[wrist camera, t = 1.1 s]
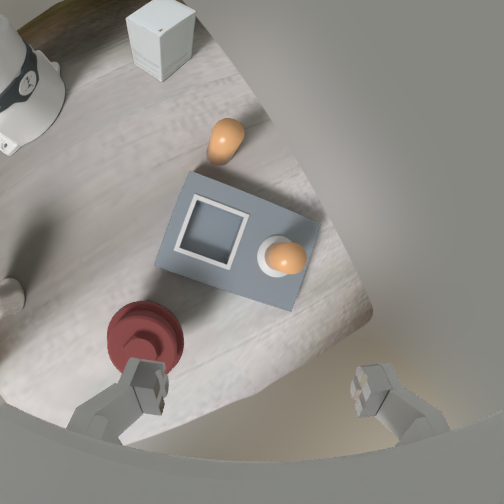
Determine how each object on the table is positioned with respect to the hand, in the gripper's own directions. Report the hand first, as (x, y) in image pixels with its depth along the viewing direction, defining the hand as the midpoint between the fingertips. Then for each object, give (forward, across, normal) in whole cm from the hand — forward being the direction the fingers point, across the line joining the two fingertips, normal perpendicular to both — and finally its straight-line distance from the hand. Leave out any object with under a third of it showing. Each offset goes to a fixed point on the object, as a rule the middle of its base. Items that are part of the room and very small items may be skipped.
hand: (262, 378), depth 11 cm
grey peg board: (+33, +2, +7) cm, 34 cm away
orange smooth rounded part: (+37, +6, -6) cm, 38 cm away
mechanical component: (+25, +15, +18) cm, 35 cm away
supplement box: (+42, +17, -22) cm, 50 cm away
